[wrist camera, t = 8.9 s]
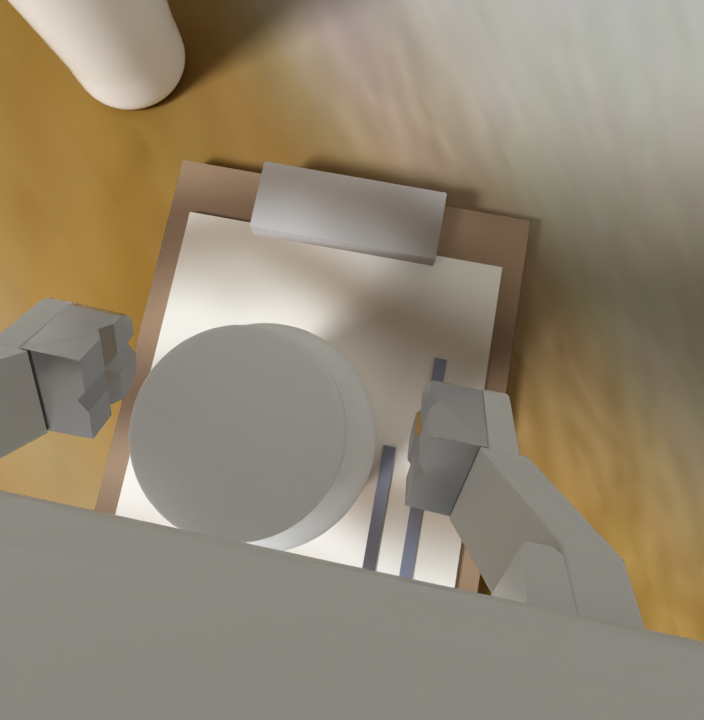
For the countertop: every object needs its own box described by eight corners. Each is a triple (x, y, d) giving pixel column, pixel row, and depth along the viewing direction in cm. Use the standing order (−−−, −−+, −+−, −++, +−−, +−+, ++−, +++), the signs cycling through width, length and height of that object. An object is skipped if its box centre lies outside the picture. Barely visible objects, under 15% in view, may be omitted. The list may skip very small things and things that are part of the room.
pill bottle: (363, 359, 23) (370, 275, 12) (379, 509, 22) (403, 566, 11) (216, 374, 23) (89, 303, 12) (226, 525, 22) (95, 599, 11)
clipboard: (449, 734, 22) (460, 770, 20) (70, 657, 22) (36, 682, 20) (522, 231, 25) (539, 208, 23) (190, 173, 26) (174, 145, 23)
